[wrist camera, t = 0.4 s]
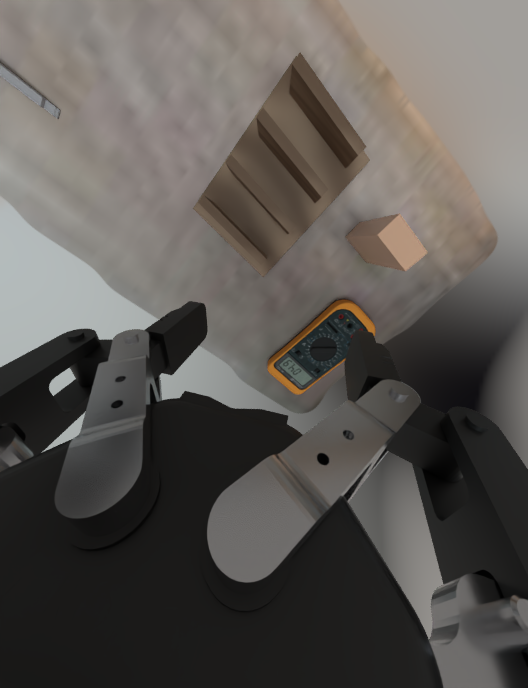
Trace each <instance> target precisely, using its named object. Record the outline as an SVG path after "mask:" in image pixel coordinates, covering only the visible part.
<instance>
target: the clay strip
mask: <svg viewBox="0 0 528 688" xmlns="http://www.w3.org/2000/svg"><path fill="white" fill-rule="evenodd" d="M346 239H347V240H348V241H349V242H350V244H351V245H352V246H353V247H354V248H355V250H356V251H357V252H358V253H359V254H360V256H361V257H362V258H363V259H364V260H365V262H367V263H371V264H376V265H380V266H384V267H389V268H393V269H397V270H402V271H407V270H408V269H409V268H410V267H411V266H413V265H414V264H415V263H416V262H417V261H419V260H420V259H421V258H422V257H423V256H425V255H426V254H427V253H428V252H427V251H426V249H425V248H424V246H423V245H422V244H421V242H420V241H419V240H418V238H417V237H416V235H415V234H414V233H413V231H412V230H411V228H410V227H409V226H408V224H407V223H406V221H405V220H404V219H403V217H402V216H401V215H400V214H396V215H391V216H387V217H382V218H378V219H373V220H369V221H364V222H360V223H359V224H358V225H357V226H356V227H355V228H354V229H353V230H352V231H351V232H350V233H349V234H348V235H347V236H346Z"/></svg>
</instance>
